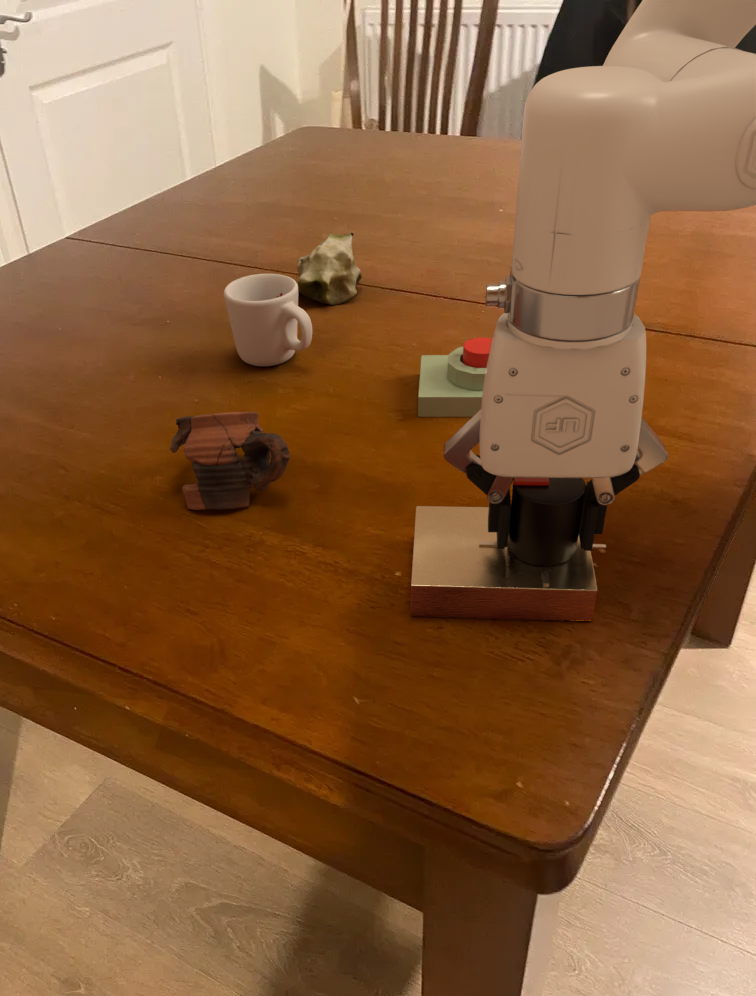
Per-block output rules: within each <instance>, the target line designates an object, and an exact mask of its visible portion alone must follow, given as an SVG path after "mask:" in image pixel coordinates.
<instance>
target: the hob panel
mask: <svg viewBox="0 0 756 996" xmlns="http://www.w3.org/2000/svg"><path fill="white" fill-rule="evenodd" d="M488 512H489V506H448V505H447V506H443V505H442V506H441V505H440V506H439V505H438V506H437V505H416V506H415V514H414V515H415V517H414V529H413V530H414V533H413V546H412V547H413V548H412V564H411V579H410V617H424V618H425V617H426V618H427V617H428V618H452V619H453V618H455V619H456V618H457V619H482V620H483V619H485V620H487V619H491V620H515V621H516V620H519V621H545V620H561V621H560V622H564V621H563V620H572V621H571V622H577V621H576V620H584V621H586V620H587V621H588V620H591V621H592V622H593V619H594V614H595V607H596V603H597V596H598V585H597V579H596V574H595V568H594V561H593V557H592V551H584V549H581V545H580V538H579V536H578V543H577V549H576V552H575V554H574V555H573V557H572V558H571V559H569V560H568V561H566V562H564V563H561V564H558V565H552V566H539V565H533V564H529V563H526V562H524V561H521V560H520V559H518V558H516V557H515V556H514V555H513V554H512V553H511V551H510V550H509V547H508V546H507V547H505V549H497V532H488ZM594 549H598V550H601V549H602V550H606V549H607V544H605V543H593V546H592V550H594ZM573 620H574V621H573Z"/></svg>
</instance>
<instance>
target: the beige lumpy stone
mask: <svg viewBox="0 0 756 996" xmlns="http://www.w3.org/2000/svg"><path fill="white" fill-rule="evenodd" d="M354 235H355V234H354V233H353V232H349V233H344V234H338V233H329V234H328V235H327V238H326V239H325V240H323V241H321V242H320V243H319V245H317V246H315V248H314V249H313V250H311V252H310V253H309V254H307V255H304V256H301V257H299V258H298V259H297V263H298V264H297V265H296V269H297V273H298V280H297V282H296V283H297V284H298V293H300V294H301V295H303V296H304V297H306V298H308V299H311V300H313V301H317V302H319V303H321V304H325V305H331V306H334V305H335V306H336V305H341V304H344V303H346V302H348V301H351V299H353V298H354V297H355V296H357V294H358V290H357V289H356V286H357V285H358V284H359V282H360V280H361V279H362V278H363V274H362V271H361V269H360V268H359V267H358V266H357V264H356V260H355V257H354V253H353V246H352V245H353V236H354Z"/></svg>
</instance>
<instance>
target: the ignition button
mask: <svg viewBox="0 0 756 996" xmlns="http://www.w3.org/2000/svg"><path fill="white" fill-rule="evenodd" d="M492 339H493V338H490V337H474V338H470V339H468V340H466V341H465V342H464V343H463V364H465V365H466V366H470V367H474V368H486V367H487V362H488V357H489V353H490V347H491V342H492Z"/></svg>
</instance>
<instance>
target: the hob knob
mask: <svg viewBox="0 0 756 996" xmlns="http://www.w3.org/2000/svg"><path fill="white" fill-rule="evenodd" d="M584 479H585V478H525V477H515V478H514V480H513V482H512V491H511V514H510V525H509V536H508V547H509V550H510V551H511V553H512V554H513V555H514V556H515V557H516V558H518V559H520V560H521V561H524V562H526V563H529V564H533V565H539V566H552V565H558V564H561V563H564V562H566V561H568V560H569V559H571V558H572V557H573V555H574V554H575V552H576V549H577V543H578V536H579V529H580V523H581V516H582V510H583V503H584V497H585V490H586V484H587V483H586V481H585V480H584Z"/></svg>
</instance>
